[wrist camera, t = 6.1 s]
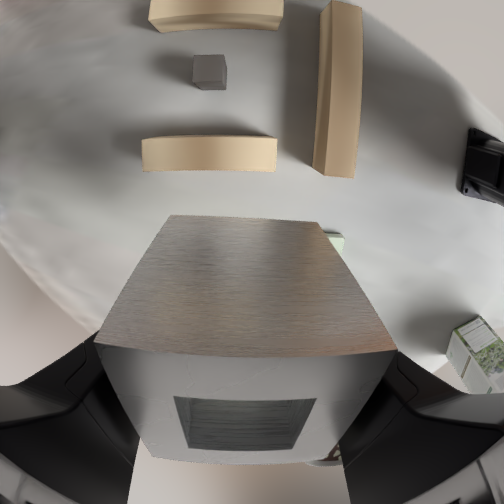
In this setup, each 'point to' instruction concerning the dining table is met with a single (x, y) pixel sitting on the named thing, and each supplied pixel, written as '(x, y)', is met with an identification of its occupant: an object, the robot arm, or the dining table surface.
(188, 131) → the dining table surface
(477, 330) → the syrup box
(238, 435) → the steel collar
